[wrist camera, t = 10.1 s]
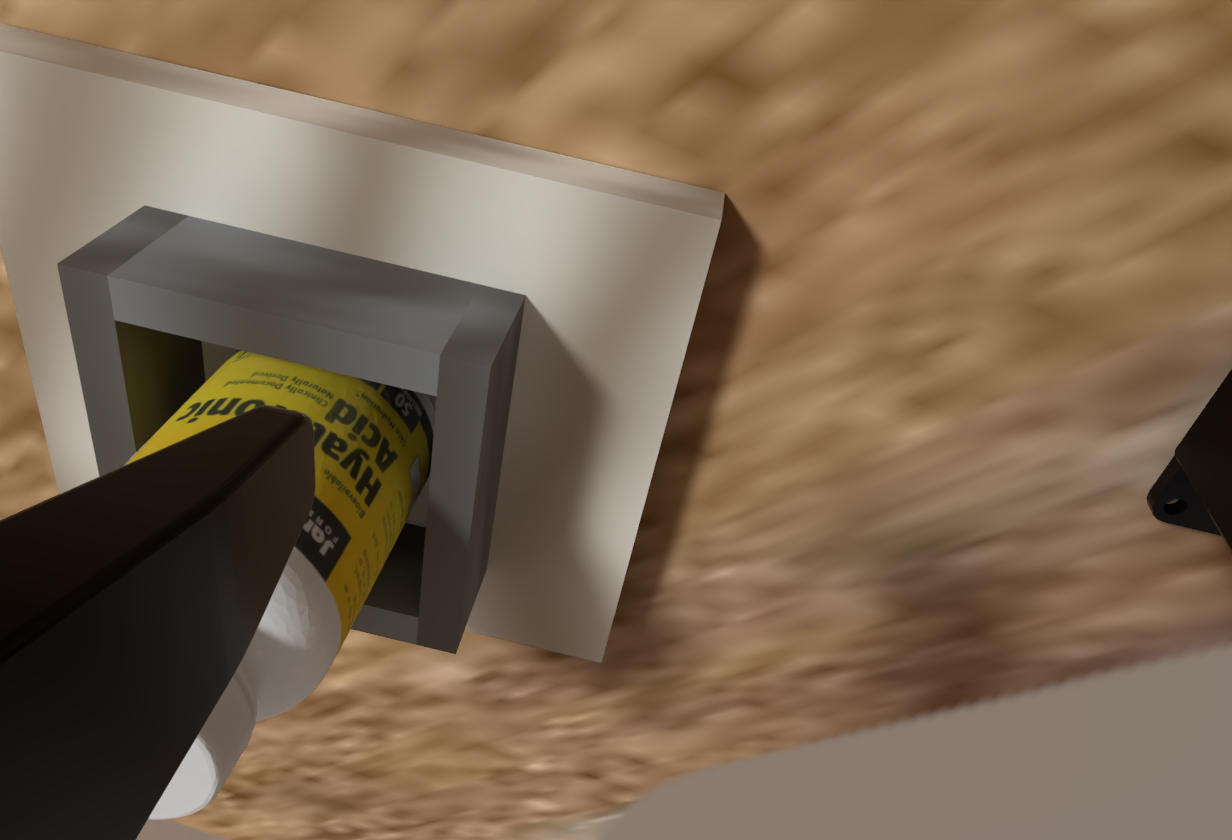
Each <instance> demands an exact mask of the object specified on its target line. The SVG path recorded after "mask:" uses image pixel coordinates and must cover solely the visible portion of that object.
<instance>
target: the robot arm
mask: <svg viewBox="0 0 1232 840" xmlns="http://www.w3.org/2000/svg"><path fill="white" fill-rule="evenodd" d="M315 487H316V482H315V451H314V428H313V424H312V421H311V419H310V418H309V417H308V416H307V415H306V414H304V413H302V412H297V411H293V410H289V409H284V408H280V407H276V406H270V405H262V406H259V407H256V408H253V409H251V410H249V411H247V412H244V413H242V414H240V415H238V416H235V417H233V418H231V419H228V420H226V421H224V422H222V423H219V424H217V425H215V426H213V427H210V428H208V429H206V430H204V431H201V432H199V433H197V434H195V435H192V436H190V437H188V438H186V439H183V440H181V441H179V442H176V443H174V444H172V445H170V446H167V447H165V448H163V449H161V450H158V451H156V452H154V453H152V454H149V455H147V456H145V457H143V458H140V459H138V460H136V461H134V462H131V463H129V464H127V465H124V466H122V467H120V468H118V469H115V470H113V471H111V472H109V473H106V474H104V475H102V476H100V477H97V478H95V479H93V480H91V481H88V482H86V483H84V484H82V485H79V486H77V487H75V488H72V489H70V490H68V491H66V492H63V493H61V494H59V495H57V496H54V497H52V498H50V499H48V500H45V501H43V502H41V503H39V504H36V505H34V506H32V507H30V508H27V509H25V510H23V511H20V512H18V513H16V514H14V515H11V516H9V517H7V518H5V519H2V520H0V840H136V838H137V836H138V835H139V833H140V831H141V830H142V828H143V826H144V825H145V823H146V821H147V820H148V818H149V816H150V815H151V813H152V811H153V810H154V808H155V806H156V805H157V803H158V801H159V800H160V798H161V796H162V795H163V793H164V791H165V790H166V788H167V786H168V785H169V783H170V781H171V780H172V778H173V776H174V774H175V773H176V771H177V769H178V768H179V766H180V764H181V763H182V761H183V759H184V758H185V756H186V754H187V753H188V751H189V749H190V748H191V746H192V744H193V743H194V741H195V739H196V738H197V736H198V734H199V733H200V731H201V729H202V728H203V726H204V724H205V723H206V721H207V719H208V718H209V716H210V714H211V713H212V711H213V709H214V708H215V706H216V704H217V703H218V701H219V699H220V698H221V696H222V694H223V693H224V691H225V689H226V688H227V686H228V684H229V683H230V681H231V679H232V677H233V675H234V674H235V672H236V670H237V668H238V667H239V665H240V663H241V661H242V659H243V658H244V656H245V654H246V651H247V649H248V647H249V645H250V643H251V641H252V639H253V637H254V635H255V633H256V630H257V628H258V626H259V624H260V622H261V619H262V617H263V615H264V613H265V610H266V608H267V606H268V604H269V602H270V599H271V597H272V595H273V593H274V590H275V588H276V586H277V584H278V582H279V579H280V577H281V575H282V573H283V570H284V568H285V566H286V564H287V562H288V559H289V557H290V555H291V553H292V550H293V548H294V546H295V544H296V542H297V539H298V537H299V535H300V533H301V530H302V528H303V526H304V524H305V522H306V519H307V517H308V515H309V512H310V510H311V507H312V504H313V500H314V496H315ZM1175 498H1176V499H1179V500H1178V501H1177V502H1175V503H1172V504H1166V503H1167V502H1168V501H1169V500H1172V499H1175ZM1147 503H1148V505H1149V507H1150V509H1151V511H1152V513H1153V515H1154V516H1155V517H1156V518H1157V519H1158V520H1161V521H1163V522H1166V523H1171V524H1175V525H1179V526H1183V527H1187V528H1192V529H1196V530H1200V531H1204V532H1209V533H1213V534H1217V535H1221V536H1222V537H1223V539H1224V540H1225V542H1226V544H1227V545H1228V547H1229V549H1230V550H1231V552H1232V369H1231V371H1230V372H1229V374H1228V375H1227V377H1226V378H1225V379H1224V381H1223V382H1222V384H1221V385H1220V387H1219V388H1218V389H1217V391H1216V392H1215V394H1214V395H1213V397H1212V398H1211V399H1210V401H1209V402H1208V404H1207V405H1206V407H1205V408H1204V409H1203V411H1202V412H1201V414H1200V415H1199V417H1198V418H1197V419H1196V421H1195V422H1194V424H1193V425H1192V427H1191V428H1190V429H1189V431H1188V432H1187V434H1186V435H1185V437H1184V438H1183V439H1182V441H1181V442H1180V444H1179V445H1178V447H1177V448H1176V450H1175V455H1174V457H1173V458H1172V460H1171V461H1170V463H1169V464H1168V465H1167V467H1166V468H1165V470H1164V471H1163V473H1162V474H1161V475H1160V477H1159V478H1158V480H1157V481H1156V483H1155V484H1154V485H1153V487H1152V488H1151V490H1150V491H1149V493H1148V496H1147Z"/></svg>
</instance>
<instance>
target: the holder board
mask: <svg viewBox="0 0 1232 840" xmlns="http://www.w3.org/2000/svg"><path fill="white" fill-rule="evenodd" d="M724 197H725V193H723V192H719V191H714V190H710V189H706V188H702V187H697V186H693V185H689V184H684V183H680V182H676V181H672V180H667V179H663V178H659V177H655V176H650V175H646V174H642V173H637V172H633V171H629V170H625V169H620V168H616V167H612V166H608V165H603V164H599V163H595V162H590V161H586V160H582V159H578V158H573V157H569V156H565V155H561V154H556V153H552V152H548V151H543V150H539V149H535V148H531V147H526V146H522V145H518V144H514V143H509V142H505V141H501V140H497V139H492V138H488V137H484V136H479V135H475V134H471V133H467V132H462V131H458V130H454V129H450V128H445V127H441V126H437V125H432V124H428V123H424V122H420V121H415V120H411V119H407V118H403V117H398V116H394V115H390V114H385V113H381V112H377V111H373V110H368V109H364V108H360V107H356V106H351V105H347V104H343V103H338V102H334V101H330V100H326V99H321V98H317V97H313V96H309V95H304V94H300V93H296V92H291V91H287V90H283V89H279V88H274V87H270V86H266V85H262V84H257V83H253V82H249V81H244V80H240V79H236V78H232V77H227V76H223V75H219V74H215V73H210V72H206V71H202V70H198V69H193V68H189V67H185V66H180V65H176V64H172V63H168V62H163V61H159V60H155V59H151V58H146V57H142V56H138V55H133V54H129V53H125V52H121V51H116V50H112V49H108V48H104V47H99V46H95V45H91V44H86V43H82V42H78V41H74V40H69V39H65V38H61V37H57V36H52V35H48V34H44V33H39V32H35V31H31V30H27V29H22V28H18V27H14V26H10V25H5V24H1V25H0V247H1V251H2V255H3V259H4V263H5V268H6V272H7V276H8V280H9V285H10V289H11V293H12V297H13V301H14V306H15V310H16V314H17V318H18V322H19V327H20V331H21V335H22V339H23V344H24V348H25V352H26V356H27V360H28V365H29V369H30V373H31V377H32V382H33V386H34V390H35V394H36V398H37V403H38V407H39V411H40V415H41V420H42V424H43V428H44V432H45V436H46V441H47V445H48V449H49V453H50V458H51V462H52V466H53V470H54V474H55V479H56V483H57V487H58V491H59V494H61V493H63V492H66V491H68V490H70V489H72V488H75V487H77V486H79V485H82V484H84V483H86V482H88V481H91V480H93V479H95V478H97V477H100V476H102V475H104V474H106V473H109V472H111V471H113V470H115V469H118V468H120V467H122V466H124V465H125V464H126V463H127V462H128V461H129V459H130V458H131V457H132V456H133V455H134V454H135V453H136V452H138V450H139V449H140V448H141V447H142V446H143V445H144V444H145V443H146V442H147V441H148V440H149V439H150V438H151V437H152V436H153V435H154V434H155V433H156V432H157V431H158V430H159V429H160V428H161V427H162V426H163V425H164V424H165V423H166V422H167V421H168V420H169V419H170V418H171V417H172V416H173V415H174V414H175V413H176V412H177V411H178V410H179V409H180V408H181V407H182V405H183V404H184V403H185V402H187V401H188V399H189V398H190V397H191V396H192V395H193V394H194V393H195V392H196V391H197V390H198V389H199V388H200V387H201V386H202V385H203V384H204V383H205V382H206V381H207V380H208V379H209V378H210V377H211V376H212V375H213V374H214V373H215V372H216V371H217V370H218V369H219V368H220V367H221V366H222V365H223V364H224V363H225V362H226V361H227V360H228V359H230V358H231V357H232V356H233V355H234V354H235V353H236V352H237V351H238V350H242V351H247V352H251V353H255V354H259V355H264V356H268V357H272V358H276V359H280V360H285V361H289V362H293V363H297V364H301V365H306V366H310V367H314V368H318V369H323V370H327V371H331V372H335V373H339V374H344V375H348V376H352V377H356V378H360V379H365V380H369V381H373V382H377V383H382V384H386V385H390V386H394V387H398V388H403V389H407V390H411V391H415V392H420V393H424V394H428V396H429V399H430V401H431V403H432V405H433V408H434V411H435V423H434V435H433V447H432V459H431V472H430V475H429V477H428V479H427V481H426V483H425V485H424V487H423V488H422V491H421V493H420V495H419V496H418V498H417V500H416V502H415V504H414V506H413V508H412V510H411V512H410V514H409V516H408V518H407V520H406V522H405V524H404V526H403V528H402V530H401V532H400V534H399V536H398V538H397V540H396V542H395V544H394V546H393V548H392V550H391V552H390V554H389V555H388V557H387V559H386V561H385V563H384V565H383V567H382V569H381V571H380V573H379V575H378V577H377V579H376V581H375V583H374V585H373V587H372V589H371V591H370V593H369V595H368V597H367V598H366V600H365V602H364V604H363V606H362V608H361V610H360V612H359V613H358V615H357V617H356V619H355V621H354V623H353V625H352V627H351V629H354V630H358V631H362V632H366V633H370V634H374V635H379V636H383V637H387V638H391V639H395V640H399V641H404V642H408V643H412V644H416V645H420V646H424V647H429V648H433V649H437V650H441V651H445V652H449V653H454V654H456V652H457V649H458V646H459V643H460V641H461V638H462V635H463V633H464V630H465V631H469V632H474V633H478V634H482V635H486V636H490V637H495V638H499V639H503V640H507V641H511V642H515V643H520V644H524V645H528V646H532V647H536V648H540V649H545V650H549V651H553V652H557V653H561V654H565V655H570V656H574V657H578V658H582V659H586V660H590V661H595V662H599V663H602V660H603V656H604V652H605V648H606V645H607V641H608V637H609V634H610V630H611V626H612V623H613V619H614V615H615V612H616V608H617V604H618V601H619V597H620V593H621V589H622V586H623V582H624V578H625V575H626V571H627V567H628V564H629V560H630V556H631V553H632V549H633V545H634V541H635V538H636V534H637V530H638V527H639V523H640V519H641V516H642V512H643V508H644V505H645V501H646V497H647V494H648V490H649V486H650V482H651V479H652V475H653V471H654V468H655V464H656V460H657V457H658V453H659V449H660V446H661V442H662V438H663V435H664V431H665V427H666V423H667V420H668V416H669V412H670V409H671V405H672V401H673V398H674V394H675V390H676V387H677V383H678V379H679V375H680V372H681V368H682V364H683V361H684V357H685V353H686V350H687V346H688V342H689V339H690V335H691V331H692V328H693V324H694V320H695V316H696V313H697V309H698V305H699V302H700V298H701V294H702V291H703V287H704V283H705V280H706V276H707V272H708V269H709V265H710V261H711V257H712V254H713V250H714V246H715V243H716V239H717V235H718V232H719V228H720V224H721V221H722V213H723V205H724Z"/></svg>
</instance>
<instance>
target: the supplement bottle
mask: <svg viewBox="0 0 1232 840" xmlns="http://www.w3.org/2000/svg"><path fill="white" fill-rule="evenodd" d="M262 405H270V406H276V407H280V408H284V409H289V410H293V411H297V412H302V413H304V414H306V415H307V416H308V417H309V418H310V419H311V421H312V424H313V428H314V451H315V482H316V487H315V496H314V500H313V504H312V507H311V510H310V512H309V515H308V517H307V519H306V522H305V524H304V526H303V528H302V530H301V533H300V535H299V537H298V539H297V542H296V544H295V546H294V548H293V550H292V553H291V555H290V557H289V559H288V562H287V564H286V566H285V568H284V570H283V573H282V575H281V577H280V579H279V582H278V584H277V586H276V588H275V590H274V593H273V595H272V597H271V599H270V602H269V604H268V606H267V608H266V610H265V613H264V615H263V617H262V619H261V622H260V624H259V626H258V628H257V630H256V633H255V635H254V637H253V639H252V641H251V643H250V645H249V647H248V649H247V651H246V654H245V656H244V658H243V659H242V661H241V663H240V665H239V667H238V668H237V670H236V672H235V674H234V675H233V677H232V679H231V681H230V683H229V684H228V686H227V688H226V689H225V691H224V693H223V694H222V696H221V698H220V699H219V701H218V703H217V704H216V706H215V708H214V709H213V711H212V713H211V714H210V716H209V718H208V719H207V721H206V723H205V724H204V726H203V728H202V729H201V731H200V733H199V734H198V736H197V738H196V739H195V741H194V743H193V744H192V746H191V748H190V749H189V751H188V753H187V754H186V756H185V758H184V759H183V761H182V763H181V764H180V766H179V768H178V769H177V771H176V773H175V774H174V776H173V778H172V780H171V781H170V783H169V785H168V786H167V788H166V790H165V791H164V793H163V795H162V796H161V798H160V800H159V801H158V803H157V805H156V806H155V808H154V810H153V811H152V813H151V815H150V816H149V818H148V819H172V818H179V817H183V816H187V815H190V814H193V813H195V812H197V811H199V810H201V809H202V808H204V807H205V806H207V805H208V804H209V803H210V802H211V801H212V800H213V799H214V798H215V796H216V795H217V794H218V793H219V791H220V789H221V788H222V786H223V784H224V783H225V781H226V779H227V777H228V776H229V774H230V772H231V771H232V769H233V767H234V766H235V764H236V762H237V760H238V759H239V757H240V755H241V754H242V753H243V751H244V750H245V748H246V747H247V745H248V743H249V740H250V738H251V734H252V730H253V728H254V726H255V723H256V721H261V720H265V719H268V718H271V717H274V716H277V715H279V714H281V713H284V712H286V711H288V710H290V709H291V708H293V707H294V706H296V705H297V704H299V703H300V702H301V701H303V700H304V699H305V698H307V697H308V696H309V695H310V694H311V693H312V692H313V691H314V690H315V689H316V688H317V686H318V685H319V684H320V682H321V681H322V680H323V678H324V677H325V675H326V673H327V672H328V670H329V668H330V666H331V665H332V663H333V661H334V659H335V657H336V656H337V654H338V652H339V650H340V648H341V646H342V644H343V642H344V640H345V639H346V637H347V635H348V633H349V631H350V629H351V627H352V625H353V623H354V621H355V619H356V617H357V615H358V613H359V612H360V610H361V608H362V606H363V604H364V602H365V600H366V598H367V597H368V595H369V593H370V591H371V589H372V587H373V585H374V583H375V581H376V579H377V577H378V575H379V573H380V571H381V569H382V567H383V565H384V563H385V561H386V559H387V557H388V555H389V554H390V552H391V550H392V548H393V546H394V544H395V542H396V540H397V538H398V536H399V534H400V532H401V530H402V528H403V526H404V524H405V522H406V520H407V518H408V516H409V514H410V512H411V510H412V508H413V506H414V504H415V502H416V500H417V498H418V496H419V495H420V493H421V491H422V488H423V487H424V485H425V483H426V481H427V479H428V477H429V475H430V472H431V459H432V447H433V435H434V423H435V411H434V408H433V405H432V403H431V401H430V399H429V396H428V394H424V393H420V392H415V391H411V390H407V389H403V388H398V387H394V386H390V385H386V384H382V383H377V382H373V381H369V380H365V379H360V378H356V377H352V376H348V375H344V374H339V373H335V372H331V371H327V370H323V369H318V368H314V367H310V366H306V365H301V364H297V363H293V362H289V361H285V360H280V359H276V358H272V357H268V356H264V355H259V354H255V353H251V352H247V351H242V350H238V351H237V352H236V353H235V354H234V355H233V356H232V357H231V358H230V359H228V360H227V361H226V362H225V363H224V364H223V365H222V366H221V367H220V368H219V369H218V370H217V371H216V372H215V373H214V374H213V375H212V376H211V377H210V378H209V379H208V380H207V381H206V382H205V383H204V384H203V385H202V386H201V387H200V388H199V389H198V390H197V391H196V392H195V393H194V394H193V395H192V396H191V397H190V398H189V399H188V401H187V402H185V403H184V404H183V405H182V407H181V408H180V409H179V410H178V411H177V412H176V413H175V414H174V415H173V416H172V417H171V418H170V419H169V420H168V421H167V422H166V423H165V424H164V425H163V426H162V427H161V428H160V429H159V430H158V431H157V432H156V433H155V434H154V435H153V436H152V437H151V438H150V439H149V440H148V441H147V442H146V443H145V444H144V445H143V446H142V447H141V448H140V449H139V450H138V452H136V453H135V454H134V455H133V456H132V457H131V458H130V459H129V461H128V462H127V463H126V464H125V465H127V464H129V463H131V462H134V461H136V460H138V459H140V458H143V457H145V456H147V455H149V454H152V453H154V452H156V451H158V450H161V449H163V448H165V447H167V446H170V445H172V444H174V443H176V442H179V441H181V440H183V439H186V438H188V437H190V436H192V435H195V434H197V433H199V432H201V431H204V430H206V429H208V428H210V427H213V426H215V425H217V424H219V423H222V422H224V421H226V420H228V419H231V418H233V417H235V416H238V415H240V414H242V413H244V412H247V411H249V410H251V409H253V408H256V407H259V406H262Z"/></svg>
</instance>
